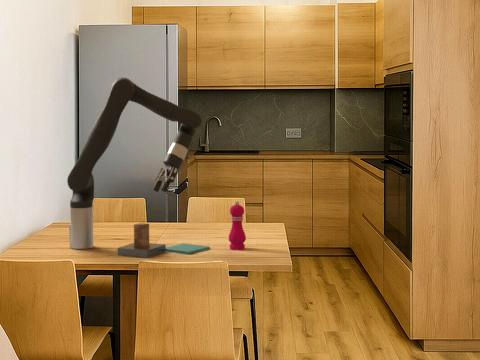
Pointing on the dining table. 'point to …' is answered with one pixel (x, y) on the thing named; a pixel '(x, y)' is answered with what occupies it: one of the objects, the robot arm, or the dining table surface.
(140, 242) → the walnut peg
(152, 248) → the socket block
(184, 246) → the teal mat
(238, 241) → the pepper mill
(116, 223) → the dining table surface
